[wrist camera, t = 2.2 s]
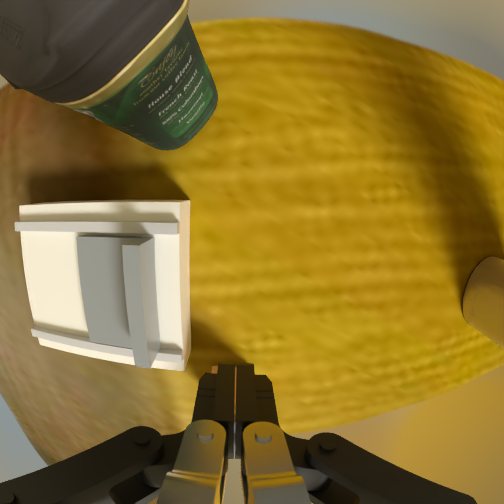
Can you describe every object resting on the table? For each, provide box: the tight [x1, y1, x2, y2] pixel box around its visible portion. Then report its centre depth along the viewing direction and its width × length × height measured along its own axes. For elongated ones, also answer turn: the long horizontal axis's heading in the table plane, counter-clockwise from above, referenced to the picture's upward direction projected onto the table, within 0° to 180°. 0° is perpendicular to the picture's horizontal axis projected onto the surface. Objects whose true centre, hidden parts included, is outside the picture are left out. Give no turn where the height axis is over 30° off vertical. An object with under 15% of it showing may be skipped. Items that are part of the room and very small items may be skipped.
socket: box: [15, 200, 192, 371], centre depth 22 cm, size 16×14×5 cm
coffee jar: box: [0, 0, 218, 150], centre depth 12 cm, size 10×8×19 cm
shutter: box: [76, 235, 161, 368], centre depth 19 cm, size 6×9×3 cm
